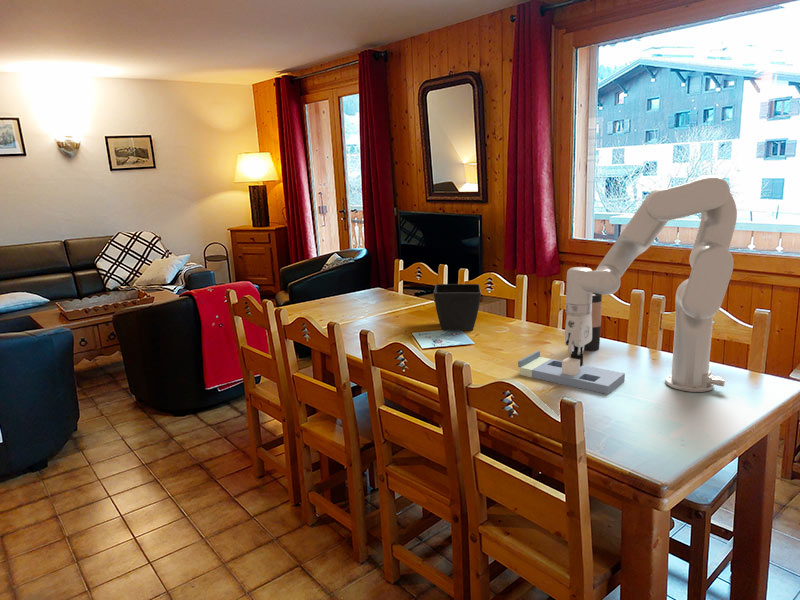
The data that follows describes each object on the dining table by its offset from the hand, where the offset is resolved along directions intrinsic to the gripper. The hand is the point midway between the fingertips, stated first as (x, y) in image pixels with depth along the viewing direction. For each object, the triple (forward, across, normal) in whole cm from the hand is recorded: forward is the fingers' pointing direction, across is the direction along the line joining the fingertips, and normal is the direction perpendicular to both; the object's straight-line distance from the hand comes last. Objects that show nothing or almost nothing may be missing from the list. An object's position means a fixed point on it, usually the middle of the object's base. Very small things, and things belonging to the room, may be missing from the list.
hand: (576, 365), depth 176 cm
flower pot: (+4, +27, +65) cm, 71 cm away
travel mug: (+4, +30, +9) cm, 31 cm away
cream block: (+1, -4, 0) cm, 4 cm away
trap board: (+4, -2, +1) cm, 4 cm away
